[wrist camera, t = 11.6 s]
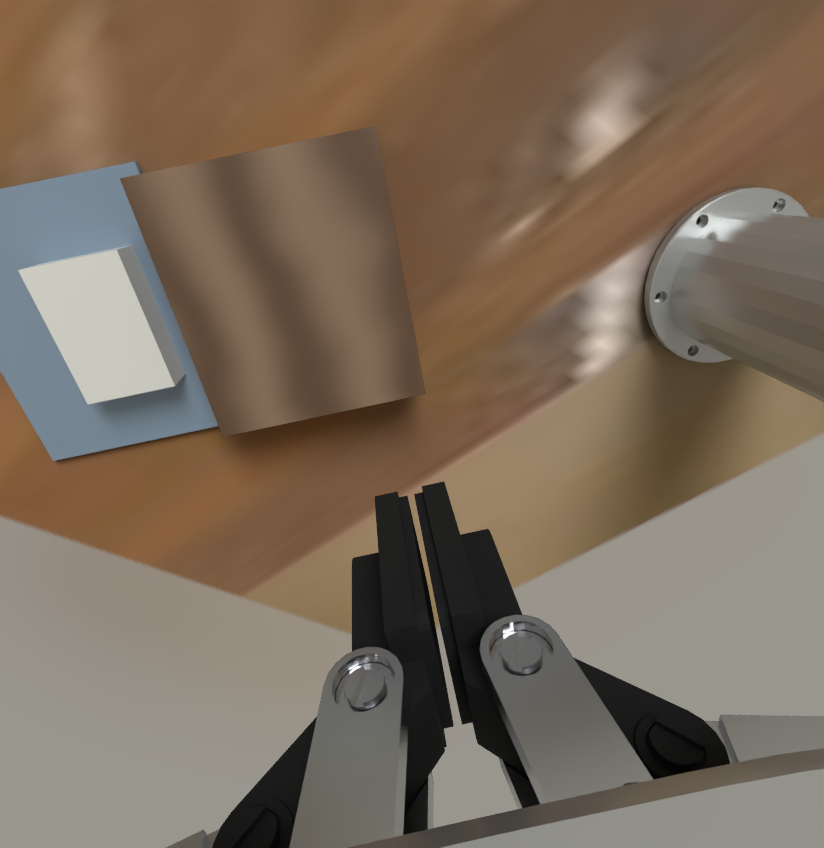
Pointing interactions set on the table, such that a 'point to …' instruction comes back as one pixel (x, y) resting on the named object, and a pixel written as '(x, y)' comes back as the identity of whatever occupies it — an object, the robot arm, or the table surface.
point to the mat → (32, 341)
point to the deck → (284, 278)
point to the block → (105, 323)
